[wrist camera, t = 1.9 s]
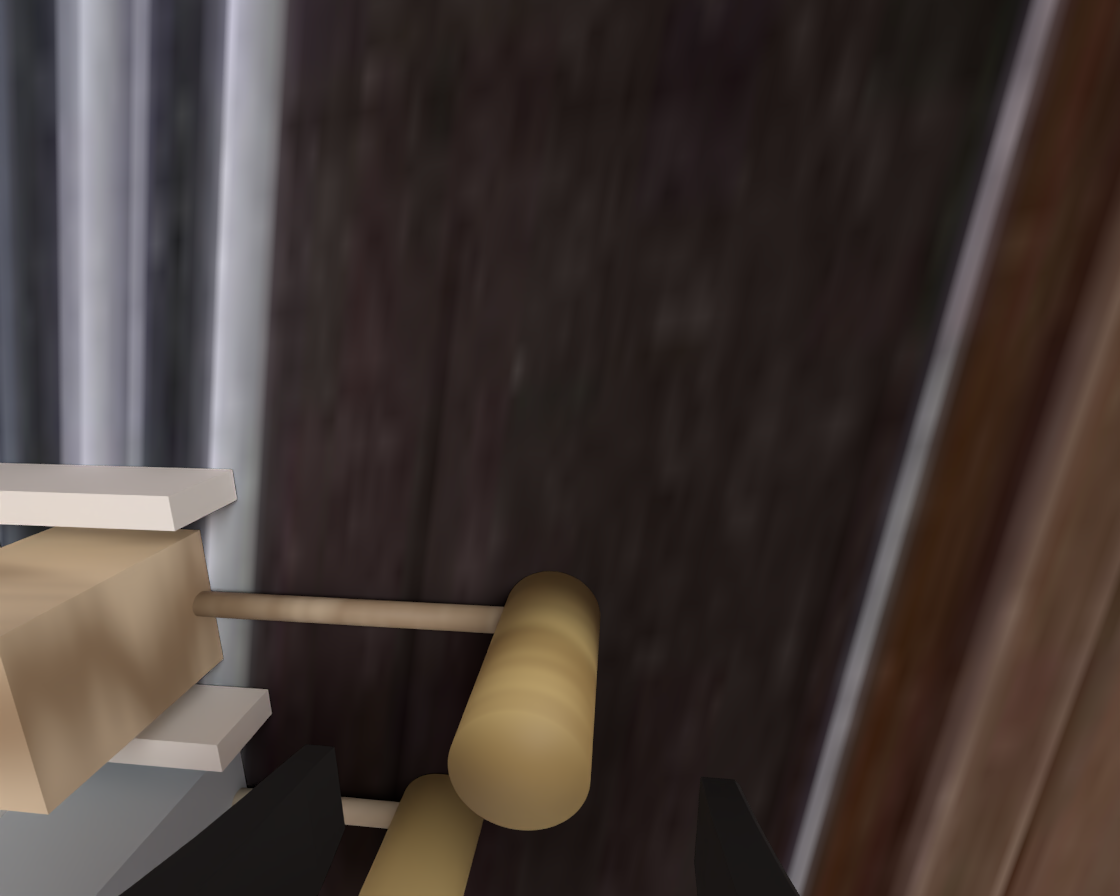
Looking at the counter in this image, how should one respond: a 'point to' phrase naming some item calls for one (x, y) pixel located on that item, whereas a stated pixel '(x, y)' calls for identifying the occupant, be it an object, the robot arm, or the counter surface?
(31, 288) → the counter surface
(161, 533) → the beige long piece
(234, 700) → the rack
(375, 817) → the grey handled block
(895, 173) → the counter surface
